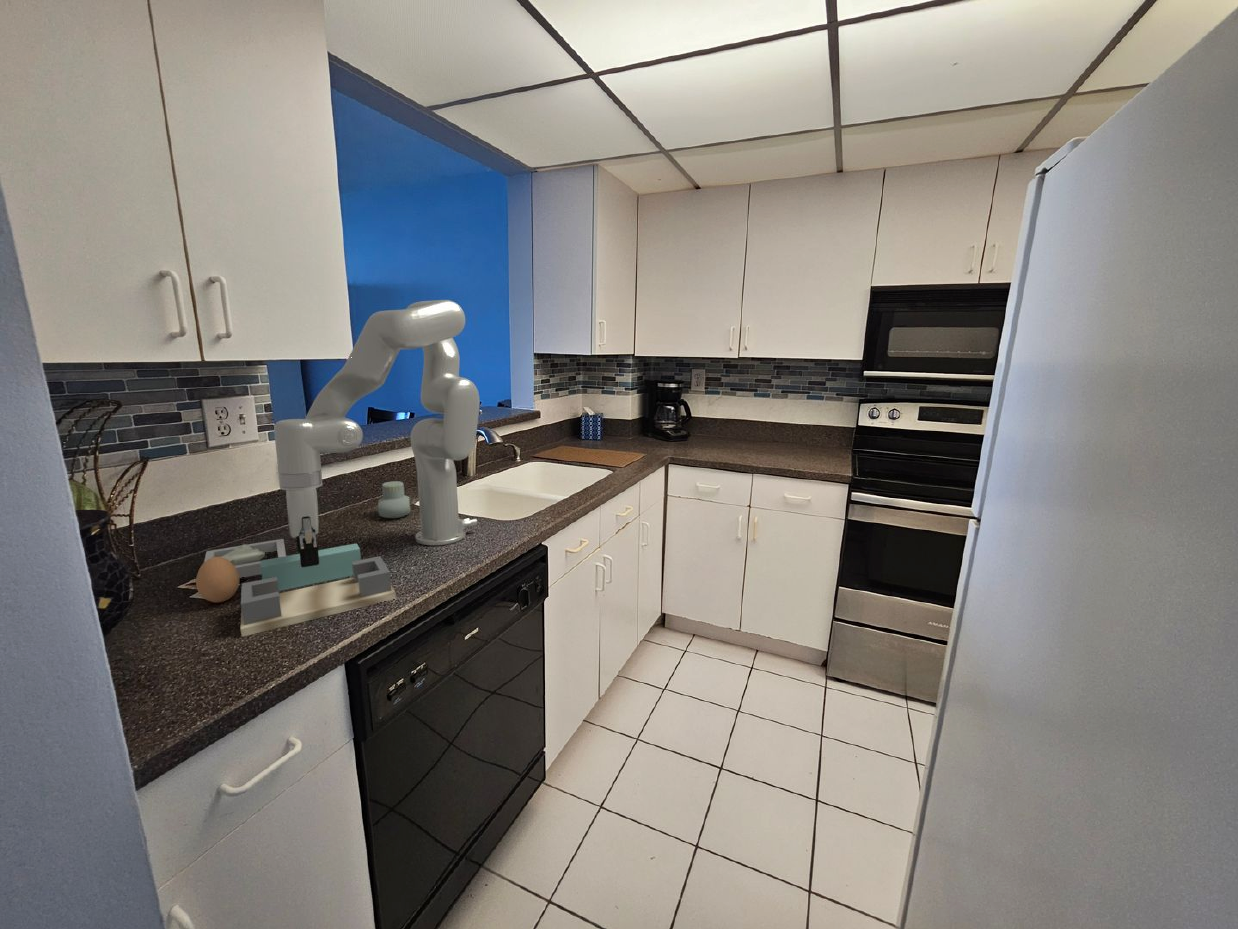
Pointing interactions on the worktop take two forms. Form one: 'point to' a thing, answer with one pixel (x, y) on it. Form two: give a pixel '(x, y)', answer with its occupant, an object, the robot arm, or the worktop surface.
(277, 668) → the worktop surface
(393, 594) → the base board
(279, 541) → the parts tray
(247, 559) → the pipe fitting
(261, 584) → the grey slat holder
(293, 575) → the slat
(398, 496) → the air freshener
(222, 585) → the egg
